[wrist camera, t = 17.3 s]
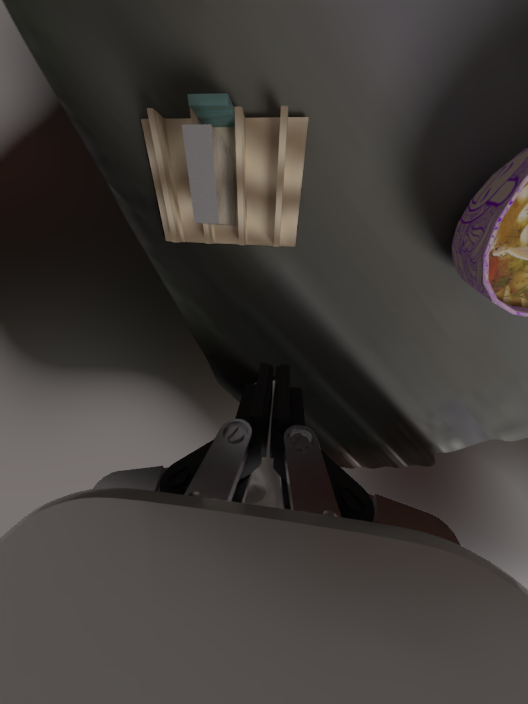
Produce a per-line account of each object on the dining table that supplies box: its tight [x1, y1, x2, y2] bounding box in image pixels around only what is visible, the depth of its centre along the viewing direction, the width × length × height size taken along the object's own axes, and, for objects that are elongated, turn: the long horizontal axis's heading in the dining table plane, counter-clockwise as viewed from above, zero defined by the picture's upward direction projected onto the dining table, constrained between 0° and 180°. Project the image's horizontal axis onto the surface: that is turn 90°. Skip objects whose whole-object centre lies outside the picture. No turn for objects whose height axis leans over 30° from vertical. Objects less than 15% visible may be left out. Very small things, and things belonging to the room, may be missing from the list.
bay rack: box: [141, 93, 308, 247], centre depth 26 cm, size 14×22×6 cm, turn 88°
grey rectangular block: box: [182, 124, 237, 226], centre depth 25 cm, size 3×8×9 cm, turn 178°
